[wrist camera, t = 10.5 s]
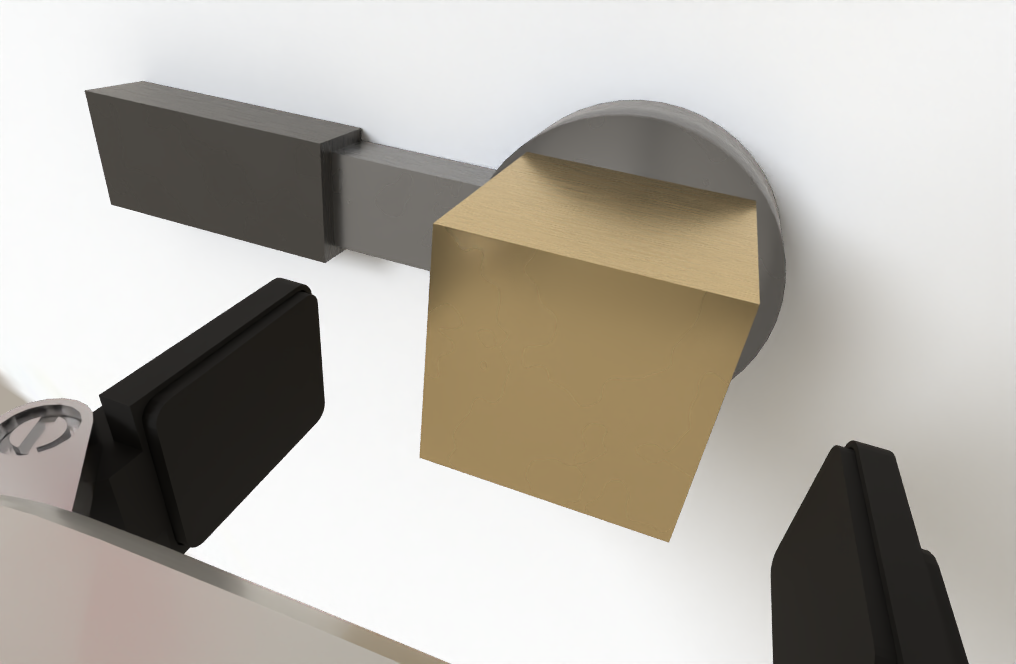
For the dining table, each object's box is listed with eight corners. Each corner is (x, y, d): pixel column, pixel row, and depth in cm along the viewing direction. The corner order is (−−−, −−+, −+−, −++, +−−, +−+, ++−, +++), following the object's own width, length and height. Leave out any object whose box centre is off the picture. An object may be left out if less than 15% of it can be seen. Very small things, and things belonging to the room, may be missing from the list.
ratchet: (128, 4, 21) (-81, 11, 16) (831, 133, 16) (871, 207, 11) (172, 243, 26) (23, 311, 21) (728, 401, 21) (721, 544, 16)
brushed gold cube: (526, 151, 17) (432, 223, 12) (755, 200, 15) (760, 304, 10) (502, 338, 20) (419, 457, 15) (690, 392, 18) (668, 542, 13)
